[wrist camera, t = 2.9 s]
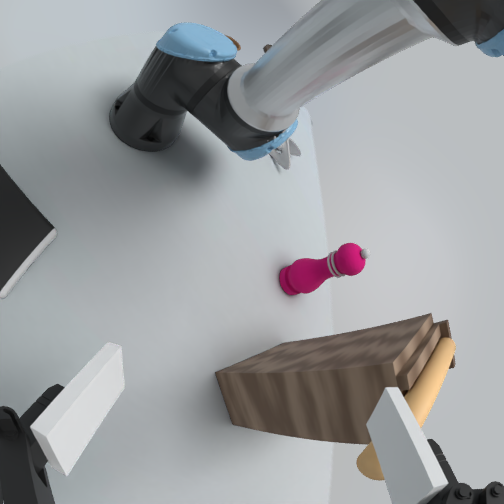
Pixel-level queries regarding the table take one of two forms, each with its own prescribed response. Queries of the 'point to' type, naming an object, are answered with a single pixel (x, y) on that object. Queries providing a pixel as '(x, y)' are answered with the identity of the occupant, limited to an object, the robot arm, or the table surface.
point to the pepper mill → (322, 269)
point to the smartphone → (19, 233)
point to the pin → (416, 400)
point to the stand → (329, 380)
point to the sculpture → (285, 153)
